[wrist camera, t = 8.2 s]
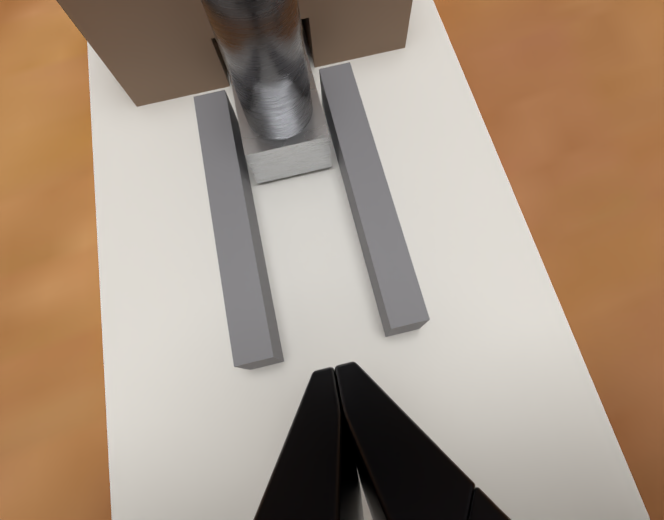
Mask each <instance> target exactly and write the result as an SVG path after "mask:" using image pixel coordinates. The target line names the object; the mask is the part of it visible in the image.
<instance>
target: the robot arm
mask: <svg viewBox="0 0 664 520" xmlns="http://www.w3.org/2000/svg"><path fill="white" fill-rule="evenodd" d="M357 470H358V471H357ZM358 474H359V476H358ZM359 478H360V482H361V485H362V489H363V492H364V495H365V498H366V501H367V504H368V507H369V510H370V513H371V516H372V519H373V520H511V519H510V518H509V517H508V516H507V515H506V514H505V513H504V512H503V511H502V510H501V509H500V508H499V507H498V506H497V505H496V504H495V503H494V502H493V501H492V500H491V499H490V498H489V497H488V496H487V495H486V494H485V493H484V492H483V491H482V490H481V489H480V488H479V487H476V488H475V483H474V482H473V481H472V480H471V479H470V478H469V477H468V476H467V475H466V474H465V473H464V472H463V471H462V470H461V469H460V468H459V467H458V466H457V465H456V464H455V463H454V462H453V461H452V460H451V459H450V458H449V457H448V456H447V455H446V454H445V453H444V452H443V451H442V450H441V449H440V447H439V446H438V445H437V444H436V443H435V442H434V441H433V440H432V439H431V438H430V437H429V436H428V435H427V434H426V433H425V432H424V431H423V430H422V429H421V428H420V427H419V426H418V425H417V424H416V423H415V422H414V421H413V420H412V419H411V418H410V417H409V416H408V415H407V414H406V413H405V412H404V411H403V410H402V409H401V408H400V407H399V406H398V405H397V404H396V403H395V402H394V401H393V400H392V399H391V398H390V397H389V396H388V395H387V394H386V392H385V391H384V390H383V389H382V388H381V387H380V386H379V385H378V384H377V383H376V382H375V381H374V380H373V379H372V378H371V377H370V376H369V375H368V374H367V373H366V372H365V371H364V370H363V369H362V368H361V367H360V366H359V365H358V364H357V363H356V362H348V363H344V364H340V365H337V366H336V367H335V370H334V368H333V367H327V368H323V369H319V370H315V371H314V372H313V373H312V375H311V377H310V380H309V382H308V385H307V387H306V390H305V392H304V395H303V397H302V400H301V402H300V405H299V407H298V410H297V412H296V415H295V417H294V420H293V422H292V425H291V427H290V430H289V432H288V435H287V437H286V440H285V442H284V445H283V447H282V449H281V452H280V454H279V457H278V459H277V462H276V464H275V467H274V469H273V472H272V474H271V477H270V479H269V482H268V484H267V487H266V489H265V492H264V494H263V497H262V499H261V502H260V504H259V507H258V509H257V512H256V514H255V517H254V519H253V520H364V516H363V506H362V496H361V488H360V482H359Z"/></svg>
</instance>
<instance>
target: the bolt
mask: <svg viewBox="0 0 664 520" xmlns="http://www.w3.org/2000/svg"><path fill="white" fill-rule="evenodd" d="M201 2H202V5H203V8H204V10H205V13H206V15H207V18H208V21H209V23H210V26H211V28H212V31H213V34H214V36H215V39H216V41H217V44H218V47H219V49H220V52H221V54H222V57H223V60H224V62H225V65H226V67H227V70H228V73H229V75H230V79H231V85H232V90H233V95H234V101H235V106H236V111H237V116H238V122H239V127H240V132H241V138H242V143H243V148H244V154H245V157H246V159H247V161H248V164H249V166H250V168H251V170H252V172H253V175H254V177H255V179H256V181H257V183H258V184H259V183H263V182H267V181H272V180H276V179H280V178H285V177H289V176H294V175H298V174H302V173H307V172H311V171H316V170H320V169H324V168H329V167H332V161H331V148H330V136H329V133H328V129H327V125H326V122H325V118H324V114H323V110H322V107H321V103H320V99H319V96H318V92H317V88H316V85H315V81H314V77H313V74H312V70H311V66H310V62H309V59H308V55H307V51H306V48H305V44H304V39H303V31H302V24H301V16H300V9H299V2H298V0H201Z"/></svg>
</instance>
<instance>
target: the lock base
mask: <svg viewBox="0 0 664 520" xmlns="http://www.w3.org/2000/svg"><path fill="white" fill-rule="evenodd" d="M57 2H58V3H59V4H60V6H61V7H62V8H63V10H64V11H65V12H66V14H67V15H68V16H69V18H70V19H71V20H72V22H73V23H74V24H75V26H76V27H77V28H78V29H79V31H80V32H81V33H82V35H83V36H84V37H85V39H86V40H87V45H88V64H89V84H90V103H91V123H92V142H93V162H94V181H95V201H96V220H97V240H98V260H99V279H100V299H101V318H102V338H103V357H104V377H105V396H106V416H107V435H108V455H109V475H110V494H111V514H112V520H253V519H254V517H255V514H256V512H257V509H258V507H259V504H260V502H261V499H262V497H263V494H264V492H265V489H266V487H267V484H268V482H269V479H270V477H271V474H272V472H273V469H274V467H275V464H276V462H277V459H278V457H279V454H280V452H281V449H282V447H283V445H284V442H285V440H286V437H287V435H288V432H289V430H290V427H291V425H292V422H293V420H294V417H295V415H296V412H297V410H298V407H299V405H300V402H301V400H302V397H303V395H304V392H305V390H306V387H307V385H308V382H309V380H310V377H311V375H312V373H313V372H314V371H315V370H319V369H323V368H327V367H333V368H334V370H335V367H336V366H337V365H340V364H344V363H348V362H356V363H357V364H358V365H359V366H360V367H361V368H362V369H363V370H364V371H365V372H366V373H367V374H368V375H369V376H370V377H371V378H372V379H373V380H374V381H375V382H376V383H377V384H378V385H379V386H380V387H381V388H382V389H383V390H384V391H385V392H386V394H387V395H388V396H389V397H390V398H391V399H392V400H393V401H394V402H395V403H396V404H397V405H398V406H399V407H400V408H401V409H402V410H403V411H404V412H405V413H406V414H407V415H408V416H409V417H410V418H411V419H412V420H413V421H414V422H415V423H416V424H417V425H418V426H419V427H420V428H421V429H422V430H423V431H424V432H425V433H426V434H427V435H428V436H429V437H430V438H431V439H432V440H433V441H434V442H435V443H436V444H437V445H438V446H439V447H440V449H441V450H442V451H443V452H444V453H445V454H446V455H447V456H448V457H449V458H450V459H451V460H452V461H453V462H454V463H455V464H456V465H457V466H458V467H459V468H460V469H461V470H462V471H463V472H464V473H465V474H466V475H467V476H468V477H469V478H470V479H471V480H472V481H473V482H474V483H475V488H476V487H479V488H480V489H481V490H482V491H483V492H484V493H485V494H486V495H487V496H488V497H489V498H490V499H491V500H492V501H493V502H494V503H495V504H496V505H497V506H498V507H499V508H500V509H501V510H502V511H503V512H504V513H505V514H506V515H507V516H508V517H509V518H510V519H511V520H650V517H649V515H648V513H647V510H646V508H645V506H644V503H643V501H642V498H641V496H640V494H639V491H638V489H637V486H636V484H635V482H634V479H633V477H632V475H631V472H630V470H629V467H628V465H627V463H626V460H625V458H624V455H623V453H622V451H621V448H620V446H619V443H618V441H617V439H616V436H615V434H614V432H613V429H612V427H611V424H610V422H609V420H608V417H607V415H606V412H605V410H604V408H603V405H602V403H601V400H600V398H599V396H598V393H597V391H596V389H595V386H594V384H593V381H592V379H591V377H590V374H589V372H588V369H587V367H586V365H585V362H584V360H583V357H582V355H581V353H580V350H579V348H578V346H577V343H576V341H575V338H574V336H573V334H572V331H571V329H570V326H569V324H568V322H567V319H566V317H565V315H564V312H563V310H562V307H561V305H560V303H559V300H558V298H557V295H556V293H555V291H554V288H553V286H552V283H551V281H550V279H549V276H548V274H547V272H546V269H545V267H544V264H543V262H542V260H541V257H540V255H539V252H538V250H537V248H536V245H535V243H534V240H533V238H532V236H531V233H530V231H529V229H528V226H527V224H526V221H525V219H524V217H523V214H522V212H521V209H520V207H519V205H518V202H517V200H516V197H515V195H514V193H513V190H512V188H511V186H510V183H509V181H508V178H507V176H506V174H505V171H504V169H503V166H502V164H501V162H500V159H499V157H498V154H497V152H496V150H495V147H494V145H493V143H492V140H491V138H490V135H489V133H488V131H487V128H486V126H485V123H484V121H483V119H482V116H481V114H480V112H479V109H478V107H477V104H476V102H475V100H474V97H473V95H472V92H471V90H470V88H469V85H468V83H467V80H466V78H465V76H464V73H463V71H462V69H461V66H460V64H459V61H458V59H457V57H456V54H455V52H454V49H453V47H452V45H451V42H450V40H449V37H448V35H447V33H446V30H445V28H444V26H443V23H442V21H441V18H440V16H439V14H438V11H437V9H436V6H435V4H434V2H433V0H298V2H299V9H300V16H301V24H302V31H303V39H304V44H305V48H306V51H307V55H308V59H309V62H310V66H311V70H312V74H313V77H314V81H315V85H316V88H317V92H318V96H319V99H320V103H321V107H322V110H323V114H324V118H325V122H326V125H327V129H328V133H329V136H330V148H331V161H332V167H329V168H324V169H320V170H316V171H311V172H307V173H302V174H298V175H294V176H289V177H285V178H280V179H276V180H272V181H267V182H263V183H259V184H258V183H257V181H256V179H255V177H254V175H253V172H252V170H251V168H250V166H249V164H248V161H247V159H246V157H245V154H244V148H243V143H242V138H241V132H240V127H239V122H238V116H237V111H236V106H235V101H234V95H233V90H232V85H231V79H230V75H229V73H228V70H227V67H226V65H225V62H224V60H223V57H222V54H221V52H220V49H219V47H218V44H217V41H216V39H215V36H214V34H213V31H212V28H211V26H210V23H209V21H208V18H207V15H206V13H205V10H204V8H203V5H202V2H201V0H57ZM357 471H358V470H357ZM358 476H359V474H358ZM359 482H360V478H359ZM360 488H361V496H362V506H363V516H364V520H373V519H372V516H371V513H370V510H369V507H368V504H367V501H366V498H365V495H364V492H363V489H362V485H361V482H360Z"/></svg>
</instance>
